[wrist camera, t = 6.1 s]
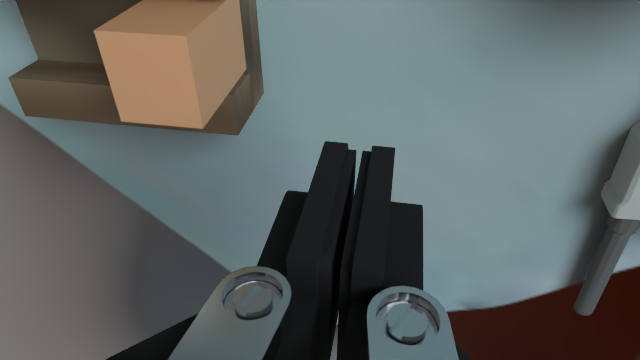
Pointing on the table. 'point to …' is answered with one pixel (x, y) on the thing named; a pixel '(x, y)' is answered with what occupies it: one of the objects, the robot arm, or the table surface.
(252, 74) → the brown wooden tray
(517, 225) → the table surface
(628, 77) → the table surface
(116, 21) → the slider
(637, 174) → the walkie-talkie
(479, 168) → the table surface
